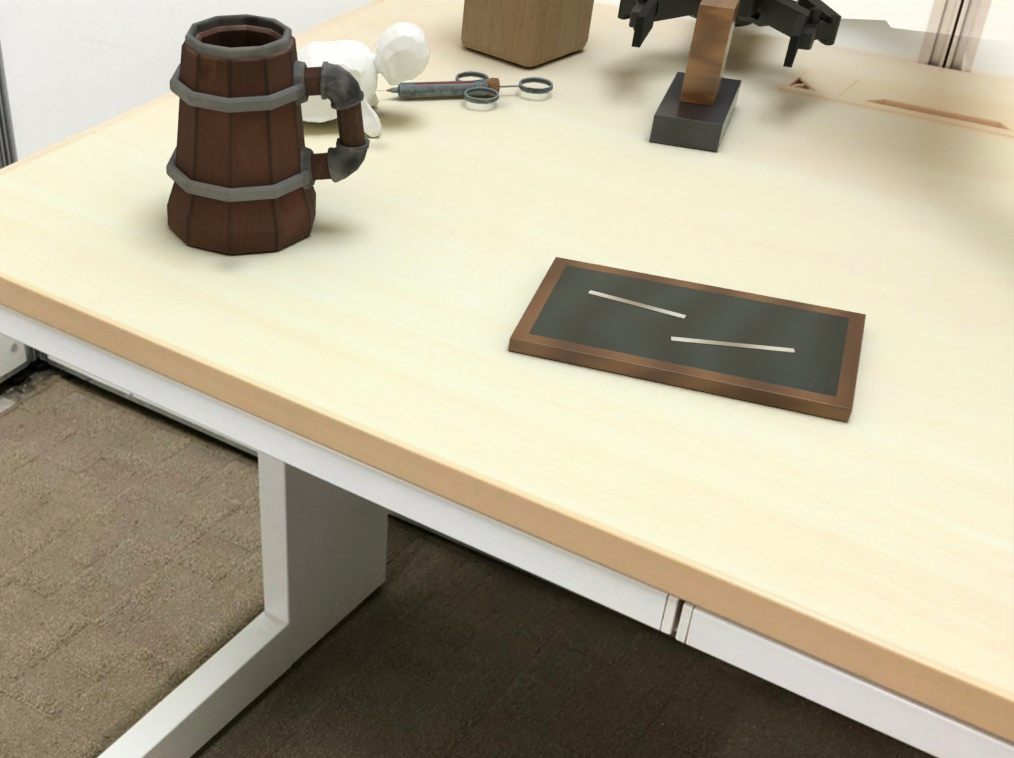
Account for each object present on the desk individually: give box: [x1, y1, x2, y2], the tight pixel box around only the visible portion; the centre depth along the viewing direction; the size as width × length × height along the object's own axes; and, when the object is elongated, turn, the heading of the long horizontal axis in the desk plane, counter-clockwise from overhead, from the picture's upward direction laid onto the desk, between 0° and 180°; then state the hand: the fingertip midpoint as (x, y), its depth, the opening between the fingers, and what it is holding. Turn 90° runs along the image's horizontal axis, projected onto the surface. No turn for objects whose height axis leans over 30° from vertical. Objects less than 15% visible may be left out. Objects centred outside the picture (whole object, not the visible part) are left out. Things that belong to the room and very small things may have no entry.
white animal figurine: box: [297, 21, 431, 138], centre depth 114 cm, size 9×8×15 cm
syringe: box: [377, 70, 554, 105], centre depth 121 cm, size 8×18×2 cm, turn 95°
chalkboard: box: [507, 256, 867, 423], centre depth 86 cm, size 22×13×1 cm, turn 66°
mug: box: [165, 13, 371, 255], centre depth 95 cm, size 16×12×15 cm
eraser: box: [648, 0, 742, 153], centre depth 112 cm, size 6×12×11 cm, turn 156°
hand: (713, 41), depth 113 cm, fingers open, 13 cm apart
